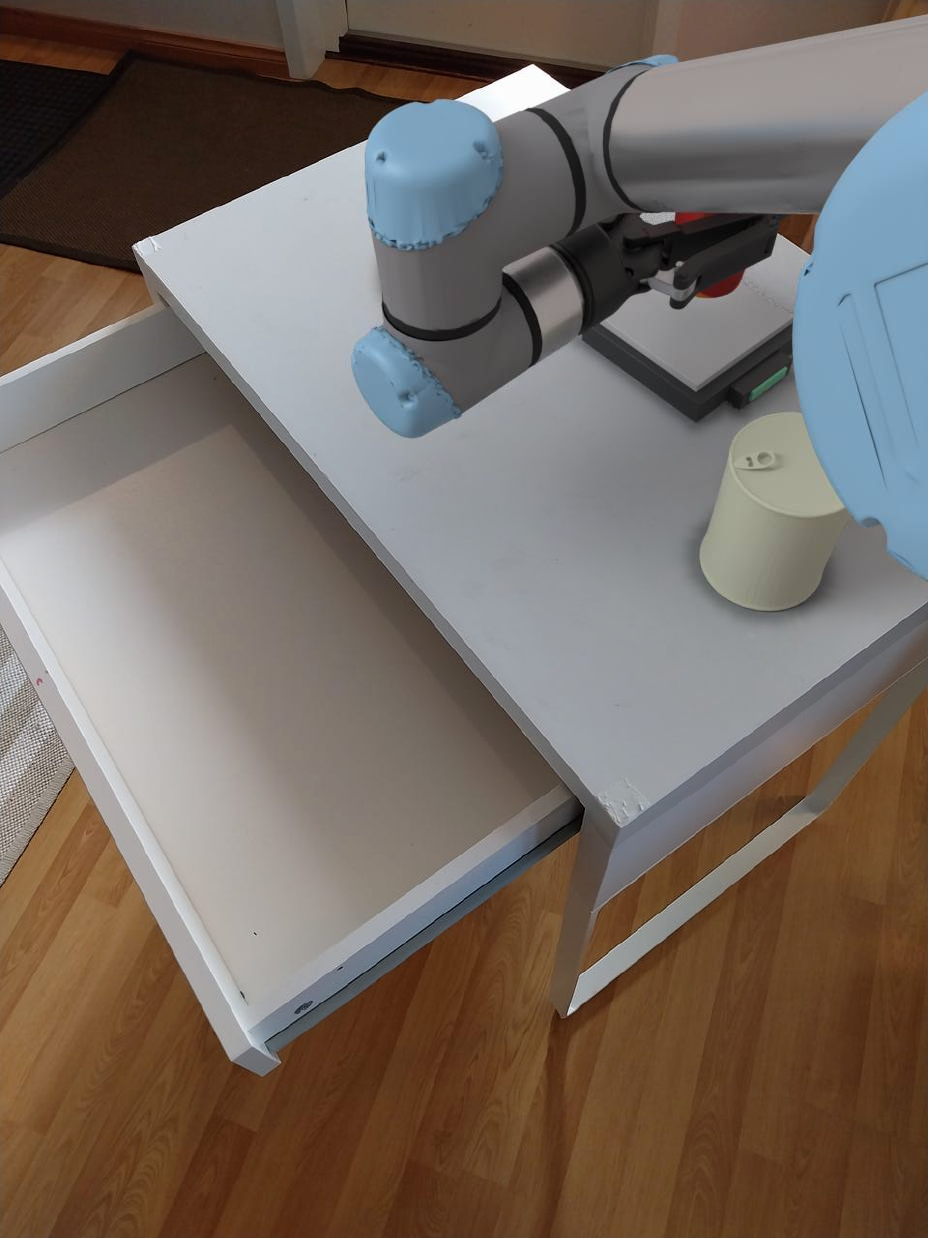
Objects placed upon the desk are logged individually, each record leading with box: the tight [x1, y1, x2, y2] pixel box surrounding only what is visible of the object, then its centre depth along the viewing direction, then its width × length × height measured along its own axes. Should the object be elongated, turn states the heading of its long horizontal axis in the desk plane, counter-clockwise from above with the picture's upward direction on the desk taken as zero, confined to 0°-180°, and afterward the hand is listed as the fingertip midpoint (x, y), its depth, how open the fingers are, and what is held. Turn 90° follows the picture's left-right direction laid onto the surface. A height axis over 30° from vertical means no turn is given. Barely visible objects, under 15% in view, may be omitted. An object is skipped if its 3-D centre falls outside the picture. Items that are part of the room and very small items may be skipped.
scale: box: [581, 281, 794, 424], centre depth 83 cm, size 16×14×3 cm
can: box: [699, 411, 852, 612], centre depth 67 cm, size 9×9×12 cm
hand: (767, 154), depth 73 cm, fingers closed on coffee cup, 7 cm apart
